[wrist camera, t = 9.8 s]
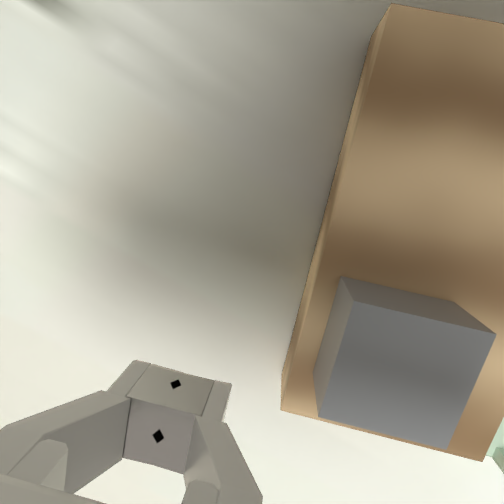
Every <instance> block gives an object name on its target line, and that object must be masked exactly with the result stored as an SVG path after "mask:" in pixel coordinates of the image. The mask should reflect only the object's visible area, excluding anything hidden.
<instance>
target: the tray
mask: <svg viewBox="0 0 504 504" xmlns="http://www.w3.org/2000/svg"><path fill="white" fill-rule="evenodd" d="M486 456H490V457H492V458H493V460H494V461H495V462H496V464H497V465H498V466H499V468H500V469H501V471H502V472H503V473H504V417H503V420H502V422H501V424H500V426H499V428H498V430H497V432H496V434H495V436H494V438H493V441H492V443H491V445H490V447H489V449H488V451H487V453H486Z"/></svg>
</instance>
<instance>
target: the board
mask: <svg viewBox="0 0 504 504" xmlns="http://www.w3.org/2000/svg"><path fill="white" fill-rule="evenodd" d="M340 276H344V277H348V278H353V279H357V280H361V281H366V282H370V283H374V284H379V285H383V286H387V287H392V288H396V289H400V290H405V291H409V292H413V293H418V294H422V295H426V296H431V297H435V298H439V299H444V300H448V301H452V302H455V303H456V304H458V305H459V306H460V307H462V308H463V309H464V310H465V311H467V312H468V313H469V314H471V315H472V316H473V317H475V318H476V319H477V320H479V321H480V322H481V323H483V324H484V325H485V326H486V327H488V328H489V329H490V330H492V331H493V332H494V333H496V334H497V335H496V338H495V340H494V342H493V345H492V347H491V349H490V351H489V354H488V356H487V358H486V361H485V363H484V365H483V367H482V370H481V372H480V374H479V377H478V379H477V381H476V383H475V386H474V388H473V390H472V392H471V395H470V397H469V399H468V402H467V404H466V406H465V408H464V411H463V413H462V415H461V418H460V420H459V422H458V424H457V427H456V429H455V431H454V434H453V436H452V438H451V440H450V443H449V445H448V447H447V450H445V449H441V448H437V447H433V446H429V445H425V444H421V443H417V442H413V441H410V440H406V439H402V438H398V437H394V436H390V435H386V434H382V433H378V432H374V431H370V430H367V429H363V428H359V427H355V426H351V425H347V424H343V423H339V422H335V421H331V420H327V419H324V418H320V417H318V412H317V404H316V396H315V388H314V380H313V369H314V366H315V362H316V359H317V355H318V352H319V349H320V345H321V342H322V338H323V335H324V331H325V328H326V325H327V321H328V318H329V314H330V311H331V307H332V304H333V300H334V297H335V294H336V290H337V287H338V283H339V280H340ZM281 411H285V412H289V413H293V414H297V415H301V416H305V417H309V418H313V419H316V420H320V421H324V422H328V423H332V424H336V425H340V426H344V427H348V428H352V429H355V430H359V431H363V432H367V433H371V434H375V435H379V436H383V437H387V438H391V439H394V440H398V441H402V442H406V443H410V444H414V445H418V446H422V447H426V448H430V449H433V450H437V451H441V452H445V453H449V454H453V455H457V456H461V457H465V458H469V459H472V460H476V461H480V462H483V459H484V457H485V455H486V453H487V451H488V449H489V447H490V445H491V443H492V441H493V438H494V436H495V434H496V432H497V430H498V428H499V426H500V424H501V422H502V420H503V417H504V24H503V23H497V22H492V21H486V20H481V19H475V18H470V17H465V16H459V15H454V14H448V13H443V12H437V11H432V10H426V9H421V8H415V7H410V6H404V5H399V4H393V3H391V4H390V6H389V8H388V9H387V11H386V13H385V14H384V16H383V18H382V20H381V21H380V23H379V25H378V26H377V28H376V30H375V31H374V33H373V35H372V36H371V39H370V43H369V47H368V51H367V54H366V58H365V62H364V66H363V69H362V73H361V77H360V81H359V85H358V88H357V92H356V96H355V100H354V103H353V107H352V111H351V115H350V119H349V122H348V126H347V130H346V134H345V137H344V141H343V145H342V149H341V153H340V156H339V160H338V164H337V168H336V171H335V175H334V179H333V183H332V187H331V190H330V194H329V198H328V202H327V205H326V209H325V213H324V217H323V221H322V224H321V228H320V232H319V236H318V239H317V243H316V247H315V251H314V255H313V258H312V262H311V266H310V270H309V273H308V277H307V281H306V285H305V289H304V292H303V296H302V300H301V304H300V307H299V311H298V315H297V319H296V323H295V326H294V330H293V334H292V338H291V341H290V345H289V349H288V353H287V357H286V360H285V364H284V368H283V372H282V379H281Z"/></svg>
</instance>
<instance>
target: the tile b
mask: <svg viewBox="0 0 504 504" xmlns="http://www.w3.org/2000/svg"><path fill="white" fill-rule="evenodd" d="M496 335H497V334H496V333H494V332H493V331H492V330H490V329H489V328H488V327H486V326H485V325H484V324H483V323H481V322H480V321H479V320H477V319H476V318H475V317H473V316H472V315H471V314H469V313H468V312H467V311H465V310H464V309H463V308H462V307H460V306H459V305H458V304H456V303H455V302H452V301H448V300H444V299H439V298H435V297H431V296H426V295H422V294H418V293H413V292H409V291H405V290H400V289H396V288H392V287H387V286H383V285H379V284H374V283H370V282H366V281H361V280H357V279H353V278H348V277H344V276H340V280H339V283H338V287H337V290H336V294H335V297H334V300H333V304H332V307H331V311H330V314H329V318H328V321H327V325H326V328H325V331H324V335H323V338H322V342H321V345H320V349H319V352H318V355H317V359H316V362H315V366H314V369H313V380H314V388H315V396H316V404H317V412H318V417H320V418H324V419H327V420H331V421H335V422H339V423H343V424H347V425H351V426H355V427H359V428H363V429H367V430H370V431H374V432H378V433H382V434H386V435H390V436H394V437H398V438H402V439H406V440H410V441H413V442H417V443H421V444H425V445H429V446H433V447H437V448H441V449H445V450H447V447H448V445H449V443H450V440H451V438H452V436H453V434H454V431H455V429H456V427H457V424H458V422H459V420H460V418H461V415H462V413H463V411H464V408H465V406H466V404H467V402H468V399H469V397H470V395H471V392H472V390H473V388H474V386H475V383H476V381H477V379H478V377H479V374H480V372H481V370H482V367H483V365H484V363H485V361H486V358H487V356H488V354H489V351H490V349H491V347H492V345H493V342H494V340H495V338H496Z"/></svg>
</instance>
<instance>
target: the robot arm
mask: <svg viewBox="0 0 504 504" xmlns="http://www.w3.org/2000/svg"><path fill="white" fill-rule="evenodd" d="M231 387H232V385H231V383H226V382H221V381H217V380H211V379H207V378H202V377H198V376H194V375H190V374H186V373H183V372H180V371H176V370H173V369H169V368H166V367H162V366H158V365H155V364H151V363H147V362H143V361H139V360H134V361H132V363H131V364H130V365H129V366H128V367H127V368H126V369H125V371H124V372H123V373H122V374H121V375H120V376H119V377H118V379H117V380H116V381H115V382H114V383H113V384H112V385H111V387H110V388H109V389H108V390H107V391H102V390H101V391H98V392H96V393H93V394H90V395H87V396H85V397H82V398H79V399H76V400H74V401H71V402H68V403H65V404H63V405H60V406H57V407H55V408H52V409H49V410H46V411H44V412H41V413H38V414H35V415H33V416H30V417H27V418H24V419H22V420H19V421H16V422H13V423H11V424H8V425H6V426H5V427H3V428H2V429H1V430H0V504H106V503H102V502H99V501H95V500H92V499H88V498H85V497H81V496H78V495H74V493H75V492H76V491H78V490H79V489H81V488H82V487H84V486H85V485H86V484H88V483H89V482H91V481H92V480H94V479H95V478H96V477H98V476H99V475H101V474H102V473H103V472H105V471H106V470H108V469H109V468H111V467H112V466H113V465H115V464H116V463H118V462H119V461H121V460H122V458H126V459H130V460H134V461H139V462H143V463H147V464H151V465H155V466H158V467H161V468H164V469H168V470H171V471H174V472H177V473H181V474H184V481H185V486H186V492H185V495H184V498H183V501H182V503H181V504H262V499H263V496H262V494H261V492H260V490H259V488H258V486H257V484H256V482H255V480H254V478H253V476H252V474H251V472H250V470H249V468H248V466H247V464H246V462H245V459H244V457H243V455H242V453H241V451H240V449H239V447H238V445H237V443H236V441H235V439H234V437H233V435H232V433H231V431H230V429H229V427H228V425H227V423H224V418H225V413H226V409H227V405H228V400H229V396H230V391H231Z"/></svg>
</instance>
